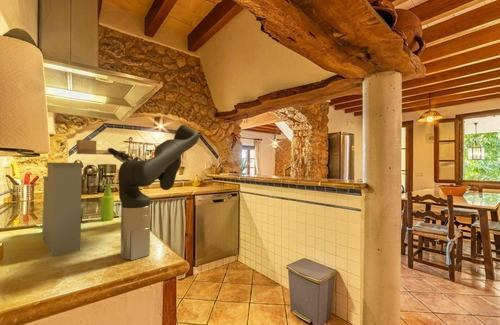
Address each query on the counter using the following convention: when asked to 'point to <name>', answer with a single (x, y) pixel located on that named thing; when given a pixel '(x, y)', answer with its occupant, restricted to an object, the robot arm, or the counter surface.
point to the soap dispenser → (107, 204)
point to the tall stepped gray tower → (62, 208)
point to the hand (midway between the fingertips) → (108, 149)
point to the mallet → (90, 148)
